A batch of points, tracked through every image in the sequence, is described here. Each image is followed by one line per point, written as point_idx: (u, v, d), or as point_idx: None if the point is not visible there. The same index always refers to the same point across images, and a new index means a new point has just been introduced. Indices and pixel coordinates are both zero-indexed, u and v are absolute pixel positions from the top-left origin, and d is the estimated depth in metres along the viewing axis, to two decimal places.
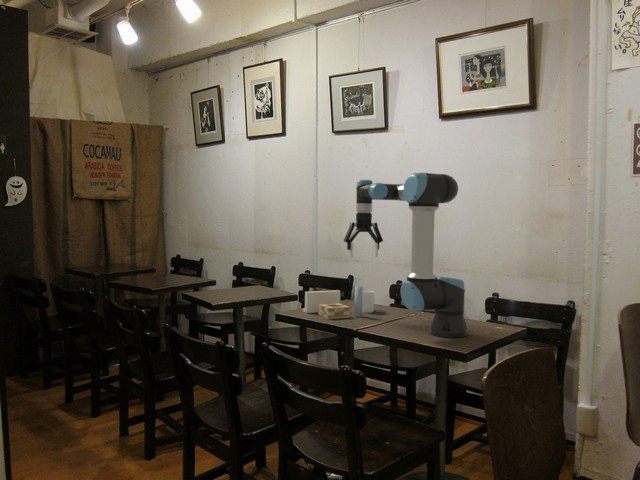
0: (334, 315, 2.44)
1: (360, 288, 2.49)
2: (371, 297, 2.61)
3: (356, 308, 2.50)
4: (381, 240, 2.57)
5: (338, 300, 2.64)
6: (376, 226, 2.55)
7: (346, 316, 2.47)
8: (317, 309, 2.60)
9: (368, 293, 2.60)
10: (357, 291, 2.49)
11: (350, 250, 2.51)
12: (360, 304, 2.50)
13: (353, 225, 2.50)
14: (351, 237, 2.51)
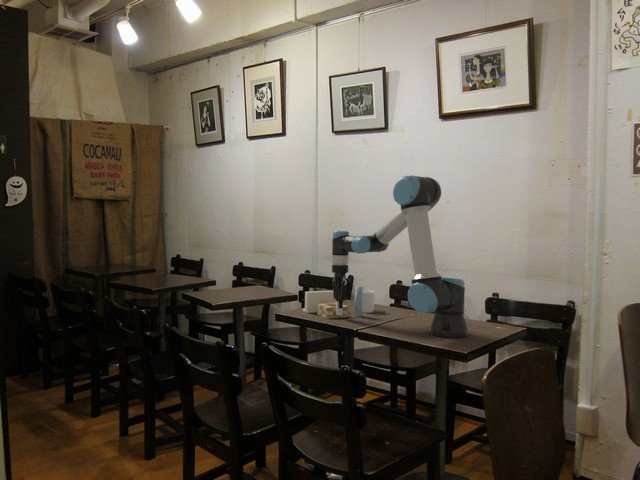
0: (332, 315, 2.46)
1: (360, 288, 2.49)
2: (371, 297, 2.61)
3: (356, 308, 2.50)
4: (339, 298, 2.42)
5: None
6: (342, 284, 2.39)
7: (345, 315, 2.48)
8: None
9: (368, 293, 2.60)
10: (357, 291, 2.49)
11: None
12: (360, 304, 2.50)
13: (332, 280, 2.49)
14: None
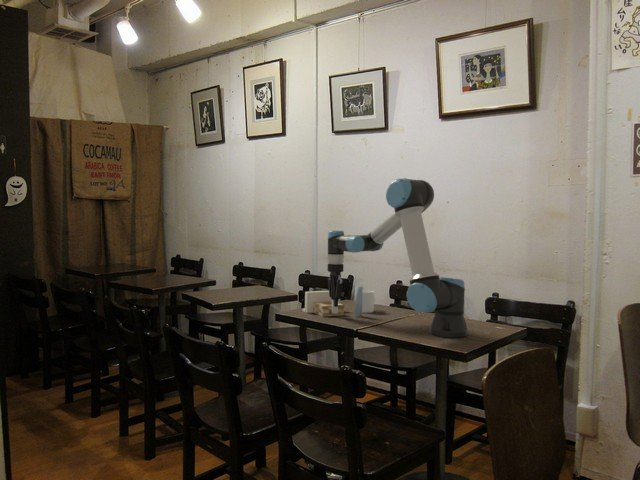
0: (328, 313, 2.50)
1: (360, 288, 2.49)
2: (371, 297, 2.61)
3: (356, 308, 2.50)
4: (335, 297, 2.46)
5: (338, 300, 2.64)
6: (337, 282, 2.44)
7: (340, 314, 2.53)
8: None
9: (368, 293, 2.60)
10: (357, 291, 2.49)
11: None
12: (360, 304, 2.50)
13: (328, 279, 2.53)
14: None
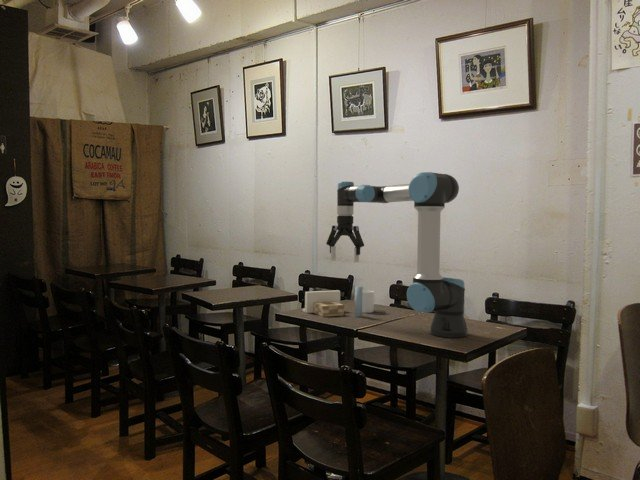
0: (328, 313, 2.50)
1: (360, 288, 2.49)
2: (371, 297, 2.61)
3: (356, 308, 2.50)
4: (359, 245, 2.38)
5: (338, 300, 2.64)
6: (354, 230, 2.39)
7: (340, 314, 2.53)
8: None
9: (368, 293, 2.60)
10: (357, 291, 2.49)
11: None
12: (360, 304, 2.50)
13: (332, 228, 2.47)
14: None
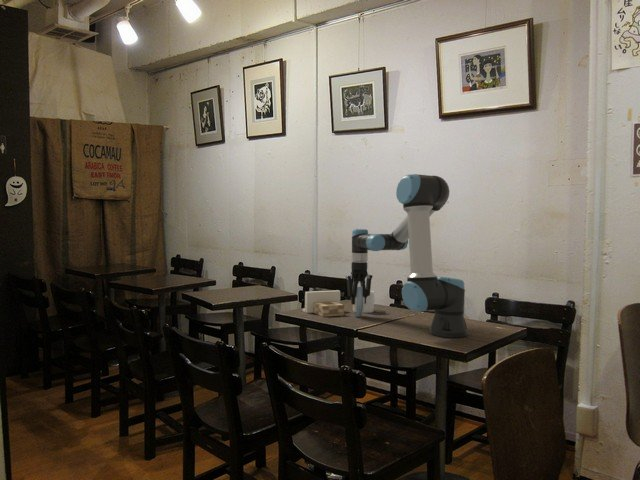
0: (328, 313, 2.50)
1: (360, 288, 2.49)
2: (371, 297, 2.61)
3: None
4: (368, 294, 2.52)
5: (338, 300, 2.64)
6: (370, 278, 2.52)
7: (340, 314, 2.53)
8: None
9: None
10: (357, 291, 2.49)
11: (354, 304, 2.50)
12: (360, 304, 2.50)
13: (350, 278, 2.47)
14: (353, 291, 2.49)
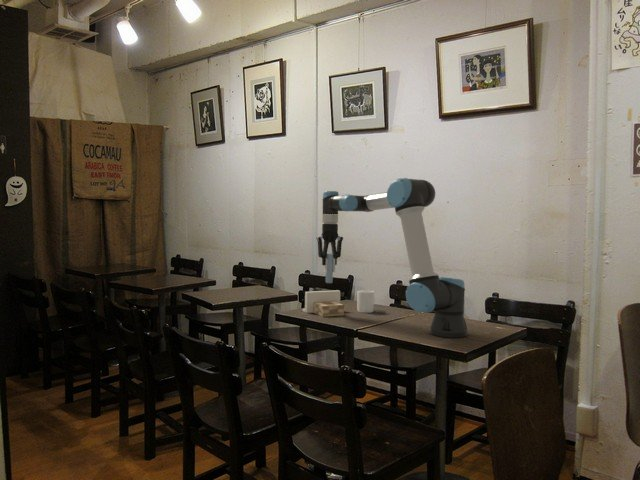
0: (328, 313, 2.50)
1: (330, 255, 2.53)
2: (371, 297, 2.61)
3: (327, 274, 2.54)
4: (339, 255, 2.55)
5: (338, 300, 2.64)
6: (341, 240, 2.56)
7: (340, 314, 2.53)
8: None
9: (368, 293, 2.60)
10: (327, 258, 2.53)
11: (325, 265, 2.53)
12: (330, 270, 2.54)
13: (320, 239, 2.51)
14: (324, 252, 2.53)
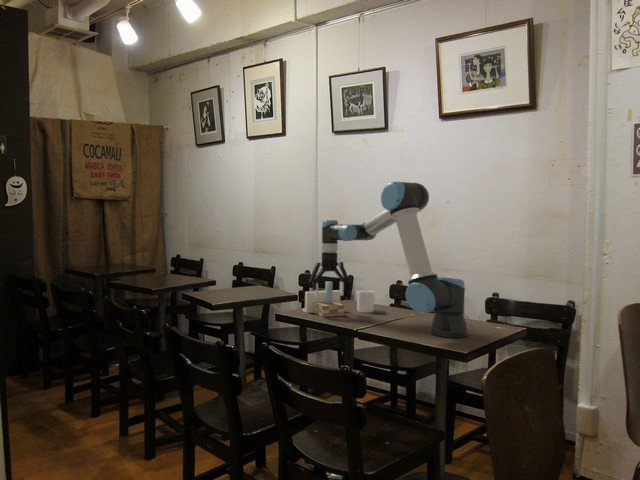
0: (328, 313, 2.50)
1: (330, 283, 2.54)
2: (371, 297, 2.61)
3: (326, 303, 2.54)
4: (347, 279, 2.58)
5: (338, 300, 2.64)
6: (342, 265, 2.56)
7: (340, 314, 2.53)
8: None
9: (368, 293, 2.60)
10: (327, 286, 2.54)
11: (315, 290, 2.52)
12: (330, 299, 2.54)
13: (318, 265, 2.51)
14: (316, 277, 2.52)
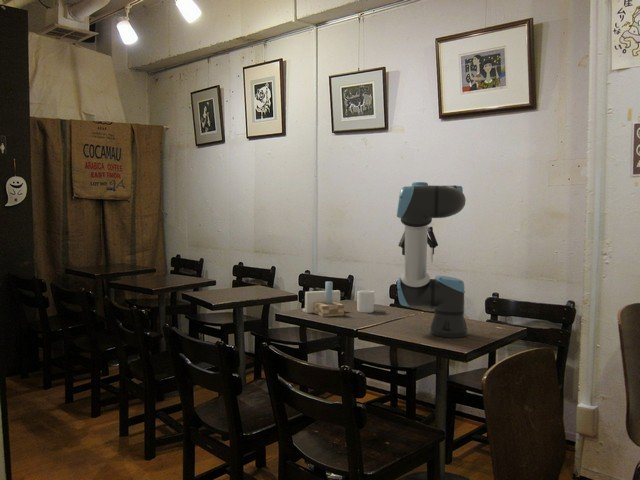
0: (328, 313, 2.50)
1: (330, 283, 2.54)
2: (371, 297, 2.61)
3: (326, 303, 2.54)
4: (436, 245, 2.47)
5: (338, 300, 2.64)
6: (431, 230, 2.45)
7: (340, 314, 2.53)
8: None
9: (368, 293, 2.60)
10: (327, 286, 2.54)
11: None
12: (330, 299, 2.54)
13: None
14: None
